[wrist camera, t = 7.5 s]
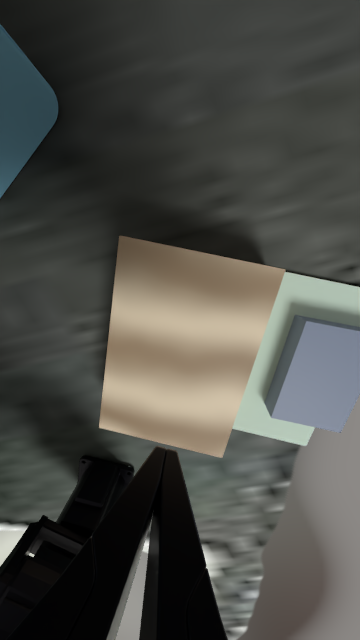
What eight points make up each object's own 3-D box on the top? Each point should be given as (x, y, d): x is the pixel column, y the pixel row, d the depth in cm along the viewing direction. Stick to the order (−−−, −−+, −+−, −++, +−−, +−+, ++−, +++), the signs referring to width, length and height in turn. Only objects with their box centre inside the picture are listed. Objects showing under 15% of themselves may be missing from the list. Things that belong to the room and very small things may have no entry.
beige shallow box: (218, 422, 21) (222, 457, 18) (116, 398, 22) (98, 427, 18) (266, 268, 17) (285, 269, 13) (137, 241, 17) (119, 235, 13)
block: (270, 417, 18) (264, 402, 20) (340, 432, 18) (327, 416, 20) (306, 321, 15) (294, 314, 17) (388, 336, 15) (367, 328, 17)
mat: (304, 443, 21) (306, 446, 21) (218, 422, 21) (218, 425, 21) (377, 290, 16) (380, 291, 16) (266, 268, 17) (267, 268, 17)
